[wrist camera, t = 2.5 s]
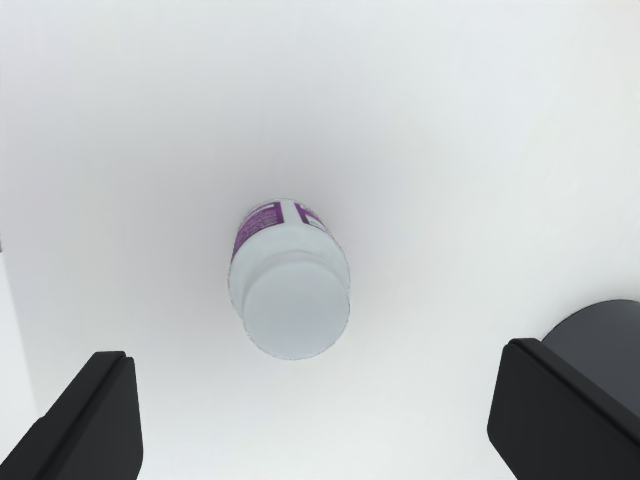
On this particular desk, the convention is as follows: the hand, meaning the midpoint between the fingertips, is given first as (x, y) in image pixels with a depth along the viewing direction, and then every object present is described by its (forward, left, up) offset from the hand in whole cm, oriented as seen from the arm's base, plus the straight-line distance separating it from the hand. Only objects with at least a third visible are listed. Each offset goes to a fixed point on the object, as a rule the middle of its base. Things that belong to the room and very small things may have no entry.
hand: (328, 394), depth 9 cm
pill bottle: (0, 0, -14) cm, 14 cm away
